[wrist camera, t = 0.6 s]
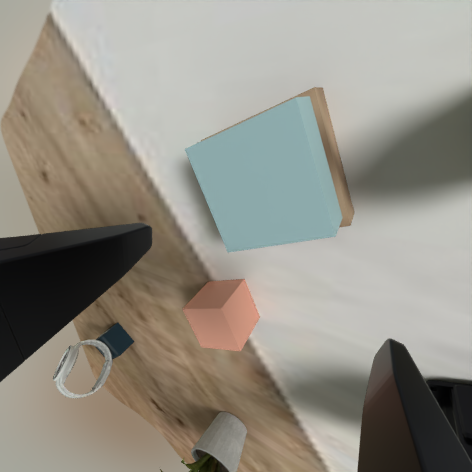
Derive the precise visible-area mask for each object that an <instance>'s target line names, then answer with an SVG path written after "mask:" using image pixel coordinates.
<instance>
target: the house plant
mask: <svg viewBox="0 0 472 472" xmlns="http://www.w3.org/2000/svg"><path fill="white" fill-rule="evenodd" d="M246 434H247V429H246V427H245V425H244V424H243V423H242V422H241V421H240V420H239V419H238V418H237V417H235V416H234V415H232V414H230V413H227V412H220V413H219V414H218V415H217V417H216V418H215V419H214V421H213V422H212V423H211V425H210V426H209V427H208V429H207V430H206V431H205V433H204V434H203V435H202V437H201V438H200V439H199V441H198V442H197V443H196V445H195V446H194V447H193V449H192V452H191V453H192V456H193V458H194V460H195V461H196V462H194V463H192V464H185V463H184V458H183V460H182V461H181V462H182V463H183V464H185V465H186V466H187V467H188V468H189V469H192V470H190V471H189V472H237V468H238V465H239V461H240V457H241V453H242V449H243V445H244V441H245V437H246ZM161 472H162V470H161Z"/></svg>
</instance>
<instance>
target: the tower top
mask: <svg viewBox="0 0 472 472" xmlns="http://www.w3.org/2000/svg"><path fill="white" fill-rule="evenodd" d="M185 151H186V153H187V156H188V158H189V161H190V163H191V165H192V168H193V170H194V173H195V175H196V177H197V180H198V182H199V185H200V187H201V189H202V192H203V194H204V196H205V199H206V201H207V204H208V206H209V208H210V211H211V213H212V216H213V218H214V220H215V223H216V225H217V228H218V230H219V232H220V235H221V237H222V240H223V242H224V244H225V247H226V249H227V252H235V251H241V250H248V249H255V248H262V247H268V246H275V245H282V244H288V243H295V242H302V241H309V240H315V239H322V238H329V237H335V236H336V234H337V231H338V229H339V226H340V223H341V221H342V218H343V217H342V213H341V210H340V206H339V202H338V199H337V195H336V191H335V187H334V184H333V180H332V176H331V173H330V169H329V165H328V162H327V158H326V154H325V151H324V147H323V143H322V139H321V136H320V132H319V128H318V125H317V121H316V117H315V114H314V110H313V106H312V102H311V99H310V96H306V97H295V98H293V99H291V100H289V101H287V102H285V103H283V104H280V105H278V106H276V107H274V108H272V109H270V110H268V111H265V112H263V113H261V114H259V115H257V116H255V117H253V118H251V119H248V120H246V121H244V122H242V123H240V124H238V125H236V126H233V127H231V128H229V129H227V130H225V131H223V132H221V133H218V134H216V135H214V136H212V137H210V138H208V139H206V140H203V141H201V142H199V143H197V144H195V145H193V146H191V147H188V148H186V149H185Z"/></svg>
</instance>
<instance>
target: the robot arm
mask: <svg viewBox="0 0 472 472" xmlns="http://www.w3.org/2000/svg"><path fill="white" fill-rule="evenodd" d="M151 246H152V228H151V227H150V226H149V225H147V224H144V223H134V224H126V225H117V226H108V227H99V228H90V229H81V230H73V231H64V232H55V233H46V234H37V235H29V236H19V237H7V238H0V382H1V381H2V380H3V379H4V378H6V377H7V376H8V375H9V374H10V373H11V372H13V371H14V370H15V369H16V368H17V367H18V366H19V365H21V364H22V363H23V362H24V361H25V360H26V359H27V358H28V357H30V356H31V355H32V354H33V353H34V352H36V351H37V350H38V349H39V348H40V347H41V346H43V345H44V344H45V343H46V342H47V341H48V340H50V339H51V338H52V337H53V336H54V335H55V334H57V333H58V332H59V331H60V330H61V329H62V328H64V326H66V325H67V324H68V323H69V322H71V321H72V320H73V319H74V318H75V317H76V316H78V315H79V314H80V313H81V312H82V311H83V310H85V309H86V308H87V307H88V306H89V305H90V304H92V303H93V302H94V301H95V300H96V299H97V298H99V297H100V296H101V295H102V294H103V293H104V292H106V291H107V290H108V289H109V288H110V287H111V286H113V285H114V284H115V283H116V282H117V281H118V280H120V279H121V278H122V277H123V276H124V275H125V274H126V273H127V272H128V271H129V270H130V269H131V268H132V267H133V266H134V265H135V264H136V263H137V262H138V261H139V260H140V259H141V258H142V256H143V255H144V254H145V253H146V252H147V251H148V250H149V249H150V248H151ZM358 472H472V385H466V384H457V383H449V382H441V381H427V382H425V380H424V378H423V377H422V375H421V373H420V371H419V370H418V368H417V366H416V364H415V363H414V361H413V359H412V357H411V356H410V354H409V352H408V350H407V349H406V347H405V346H404V345H403V344H402V343H400V342H397V341H395V340H393V339H387V340H386V341H385V343H384V344H383V345H382V347H381V348H380V350H379V351H378V352H377V354H376V355H375V357H374V360H373V364H372V369H371V374H370V378H369V383H368V387H367V392H366V397H365V401H364V407H363V414H362V425H361V436H360V448H359V460H358Z"/></svg>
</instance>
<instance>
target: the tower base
mask: <svg viewBox="0 0 472 472" xmlns="http://www.w3.org/2000/svg"><path fill="white" fill-rule="evenodd" d="M306 96H310V99H311V102H312V106H313V110H314V114H315V117H316V121H317V125H318V128H319V132H320V136H321V139H322V143H323V147H324V151H325V154H326V158H327V162H328V165H329V169H330V173H331V176H332V180H333V184H334V187H335V191H336V195H337V199H338V202H339V206H340V210H341V213H342V217H343V218H342V221H341V223H340V226H339V227H344V226H350V225H351V222H352V219H353V215H354V209H353V205H352V201H351V198H350V194H349V190H348V186H347V182H346V178H345V174H344V170H343V166H342V162H341V158H340V154H339V150H338V146H337V142H336V138H335V134H334V131H333V127H332V123H331V119H330V115H329V111H328V107H327V103H326V99H325V95H324V91H323V88H317V87H314V88H312V89H310V90H308V91H306V92H303V93H301V94H299V95H297V96H295V97H306ZM295 97H293V98H295ZM293 98H291V99H293ZM291 99H288V100H286V101H284V102H282V103H280V104H283V103H285V102H287V101H289V100H291ZM280 104H278V105H280ZM278 105H276V106H278ZM276 106H274V107H276ZM274 107H271V108H269V109H267V110H265V111H268V110H270V109H272V108H274ZM265 111H263V112H265ZM263 112H261V113H263ZM261 113H259V114H261ZM259 114H256V115H254V116H252V117H250V118H248V119H251V118H253V117H255V116H257V115H259ZM248 119H246V120H248ZM246 120H244V121H246ZM244 121H241V122H239V123H237V124H235V125H233V126H236V125H238V124H240V123H242V122H244ZM233 126H231V127H233ZM231 127H229V128H231ZM229 128H227V129H229ZM227 129H224V130H222V131H220V132H218V133H221V132H223V131H225V130H227ZM218 133H216V134H218ZM216 134H214V135H216ZM214 135H212V136H214ZM212 136H209V137H207V138H205V139H203V140H206V139H208V138H210V137H212ZM203 140H201V141H203Z"/></svg>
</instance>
